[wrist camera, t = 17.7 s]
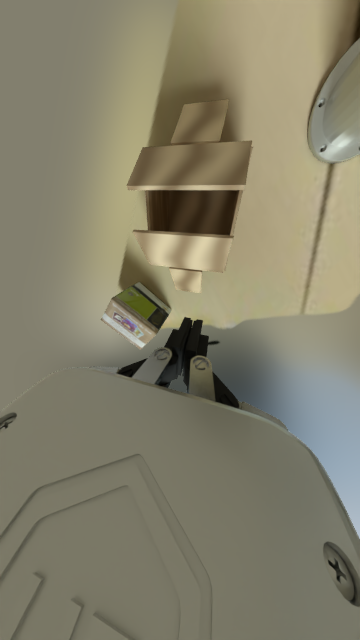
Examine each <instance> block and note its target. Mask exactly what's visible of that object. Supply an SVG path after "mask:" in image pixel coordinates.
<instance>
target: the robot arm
mask: <svg viewBox="0 0 360 640" xmlns="http://www.w3.org/2000/svg"><path fill="white" fill-rule="evenodd" d="M318 105H320V107H319V106H318ZM308 143H309V147H310V150H311V152H312V153H313V155H314V156H315V157H316V158H317V159H318V160H320V161H322V162H325V163H340V162H344V161H346V160H349V159H352V158H354V157H356V156H358V155H360V150H359V148H360V38H359V39H358V40H357V41H356V42H355V43H354V44H353V45H352V46H351V47H350V48H349V49H348V51H347V52H346V53H345V54H344V55H343V56H342V58H341V59H340V60H339V62H338V63H337V65H336V66H335V67H334V69H333V70H332V72H331V73H330V75H329V76H328V78H327V80H326V81H325V83H324V84H323V86H322V88H321V90H320V92H319V94H318V96H317V98H316V101H315V104H314V106H313V109H312V112H311V116H310V120H309V126H308ZM320 149H322V152H320ZM192 321H193V320H191V318H186V317H184V320H183V322H182V324H181V326H180V328H179V330H175V329H173V331H172V333H171V335H170V337H169V339H168V341H167V343H166V345H165V346H164V347H161V348H157V349H156V350H154V352H153V353H152V354H151V355H150V356H149V358H147V359H144V360H142V361H139V362H136V363H133V364H131V365H128V366H126V367H123V368H122V369H119V368H118V367H95V366H93V367H89V368H85V367H84V368H83V367H76V368H67V369H62V370H58V371H56V372H53V373H52V374H50V375H48V376H46V377H45V378H43V379H42V380H41V381H39V382H38V383H36V384H35V385H33V386H32V387H31V388H30V389H28V390H27V391H25V392H24V393H23V394H22V395H20V396H19V397H18V398H16V399H15V400H14V401H13V402H11V403H10V404H9V405H8V406H6V407H5V408H4V409H3V410H1V411H0V640H360V539H359V537H358V535H357V532H356V530H355V528H354V526H353V524H352V522H351V520H350V518H349V515H348V513H347V511H346V509H345V507H344V505H343V503H342V501H341V499H340V497H339V495H338V493H337V491H336V489H335V487H334V486H333V483H332V482H331V480H330V478H329V476H328V474H327V472H326V471H325V469H324V467H323V466H322V464H321V463H320V462H319V460H318V458H317V457H316V456H315V454H314V453H313V452H312V451H311V450H310V449H309V448H308V447H307V446H306V445H305V444H304V443H303V442H302V441H301V440H300V439H298V438H297V437H296V436H294V435H293V434H292V433H290V432H289V431H288V429H287V428H286V426H285V425H284V424H283V423H282V422H281V421H280V420H279V419H277V418H275V417H273V416H271V415H269V414H267V413H265V412H263V411H261V410H259V409H257V408H255V407H253V406H251V405H249V404H247V403H245V402H242V403H241V402H239V401H238V400H237V399H236V398H235V396H234V395H233V394H232V393H231V392H230V391H229V389H228V388H227V387H226V386H225V385H224V384H223V383H222V382H221V380H220V379H219V378H218V377H217V376H216V375H215V374H214V373H213V372H212V366H211V362H210V361H209V359H207V358H206V355H207V347H208V339H209V337H208V336H205V335H201V328H202V323H203V320H198V319H197V321H194V323H193V326H192ZM182 369H183V376H184V380H183V381H184V383H185V384H186V386H187V393H183V392H179V391H176V390H172V389H169V386H170V384H171V381H172V380H174V379H177V377H178V375H181V372H182Z"/></svg>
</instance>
